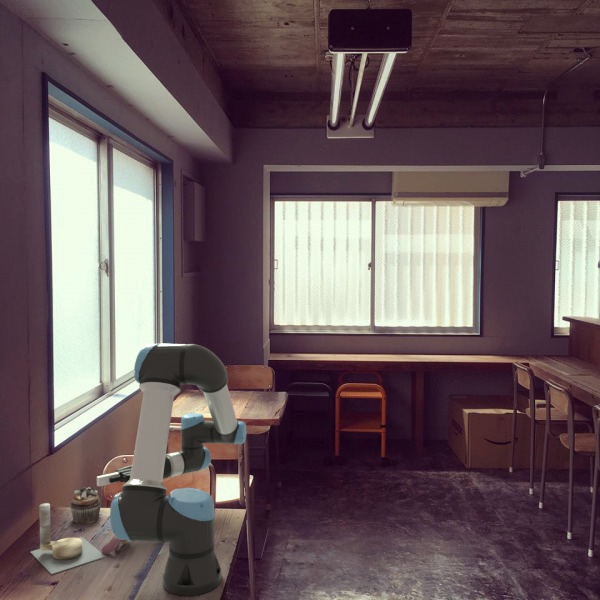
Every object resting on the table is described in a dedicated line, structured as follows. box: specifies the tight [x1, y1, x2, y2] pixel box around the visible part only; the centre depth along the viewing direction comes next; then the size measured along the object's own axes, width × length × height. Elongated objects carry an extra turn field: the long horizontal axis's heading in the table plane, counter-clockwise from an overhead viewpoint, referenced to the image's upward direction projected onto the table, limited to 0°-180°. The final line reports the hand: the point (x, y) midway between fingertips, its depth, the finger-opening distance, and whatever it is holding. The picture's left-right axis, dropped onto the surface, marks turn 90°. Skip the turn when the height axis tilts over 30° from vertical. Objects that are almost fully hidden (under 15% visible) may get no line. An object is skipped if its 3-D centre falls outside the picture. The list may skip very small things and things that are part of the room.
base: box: [30, 536, 106, 576], centre depth 174 cm, size 17×15×1 cm
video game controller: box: [101, 534, 128, 555], centre depth 179 cm, size 10×5×7 cm, turn 169°
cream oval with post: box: [38, 502, 82, 560], centre depth 174 cm, size 12×8×14 cm
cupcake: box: [69, 485, 102, 524], centre depth 199 cm, size 10×10×10 cm
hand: (97, 481), depth 186 cm, fingers closed
